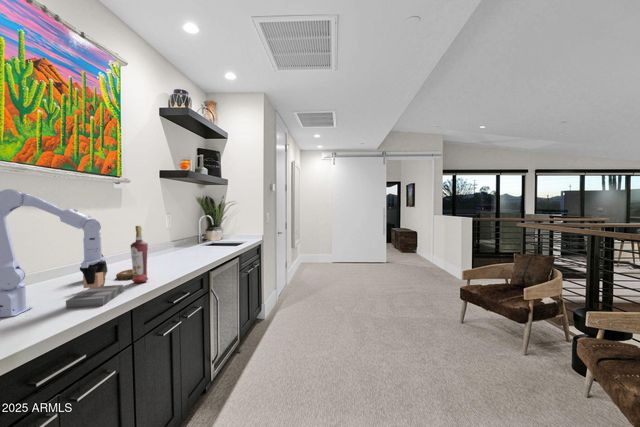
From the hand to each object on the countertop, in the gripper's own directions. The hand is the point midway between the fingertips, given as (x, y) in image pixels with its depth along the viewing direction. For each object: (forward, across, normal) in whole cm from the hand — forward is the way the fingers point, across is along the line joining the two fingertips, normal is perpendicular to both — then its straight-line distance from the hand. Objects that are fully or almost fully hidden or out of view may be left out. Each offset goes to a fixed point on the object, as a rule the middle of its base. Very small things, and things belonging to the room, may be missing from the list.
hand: (94, 282), depth 124 cm
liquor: (+7, +26, -9) cm, 28 cm away
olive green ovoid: (+7, +40, +16) cm, 44 cm away
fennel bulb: (+7, +19, +7) cm, 22 cm away
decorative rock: (+8, +41, 0) cm, 42 cm away
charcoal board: (+7, 0, -1) cm, 7 cm away
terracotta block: (+2, 0, 0) cm, 2 cm away
